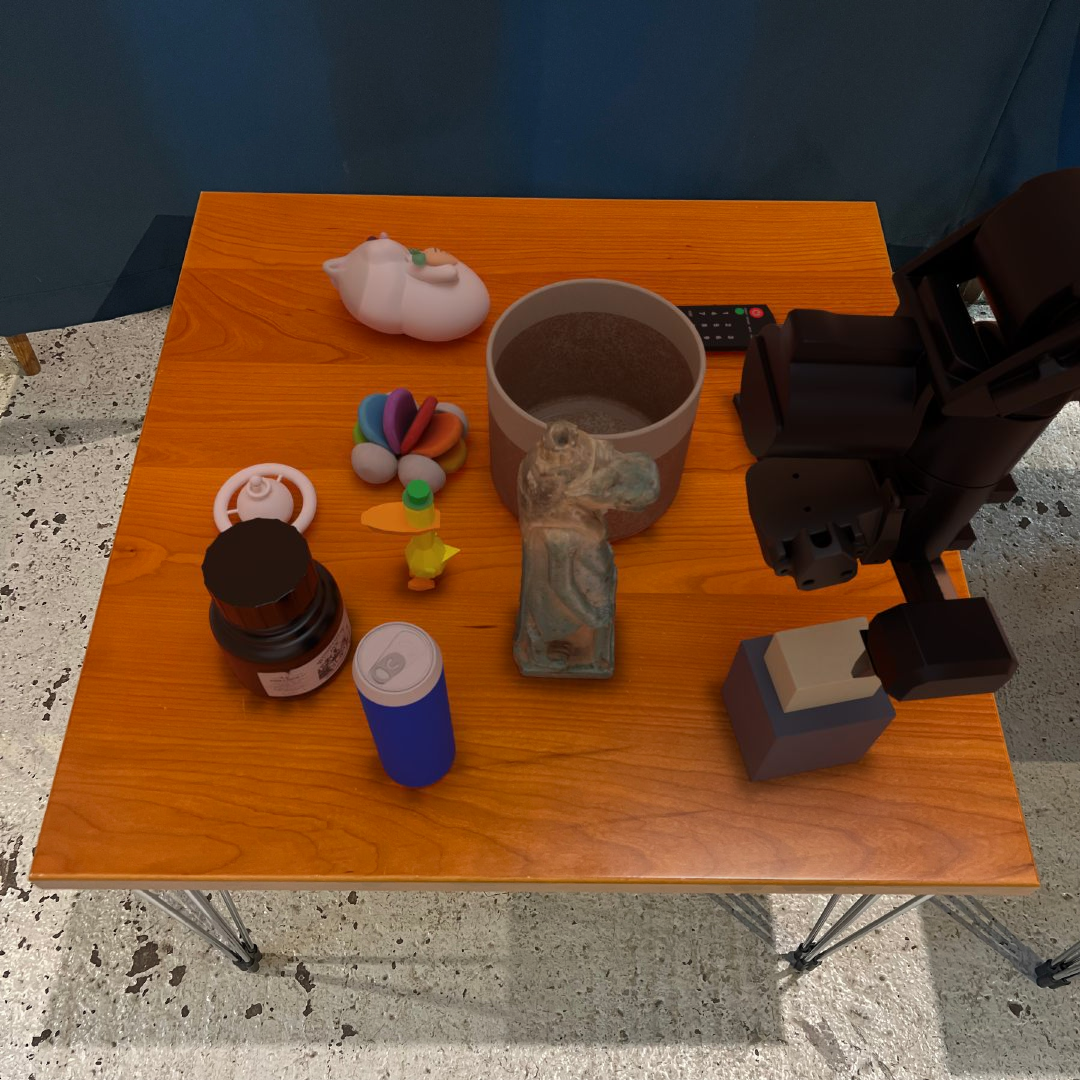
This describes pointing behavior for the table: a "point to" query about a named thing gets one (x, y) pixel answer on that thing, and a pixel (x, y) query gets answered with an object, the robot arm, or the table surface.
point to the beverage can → (406, 702)
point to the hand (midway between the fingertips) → (835, 605)
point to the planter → (595, 381)
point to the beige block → (818, 665)
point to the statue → (573, 549)
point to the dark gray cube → (795, 721)
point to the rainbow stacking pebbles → (408, 439)
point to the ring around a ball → (265, 496)
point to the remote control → (728, 324)
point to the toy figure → (414, 532)
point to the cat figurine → (409, 290)
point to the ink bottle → (275, 610)
